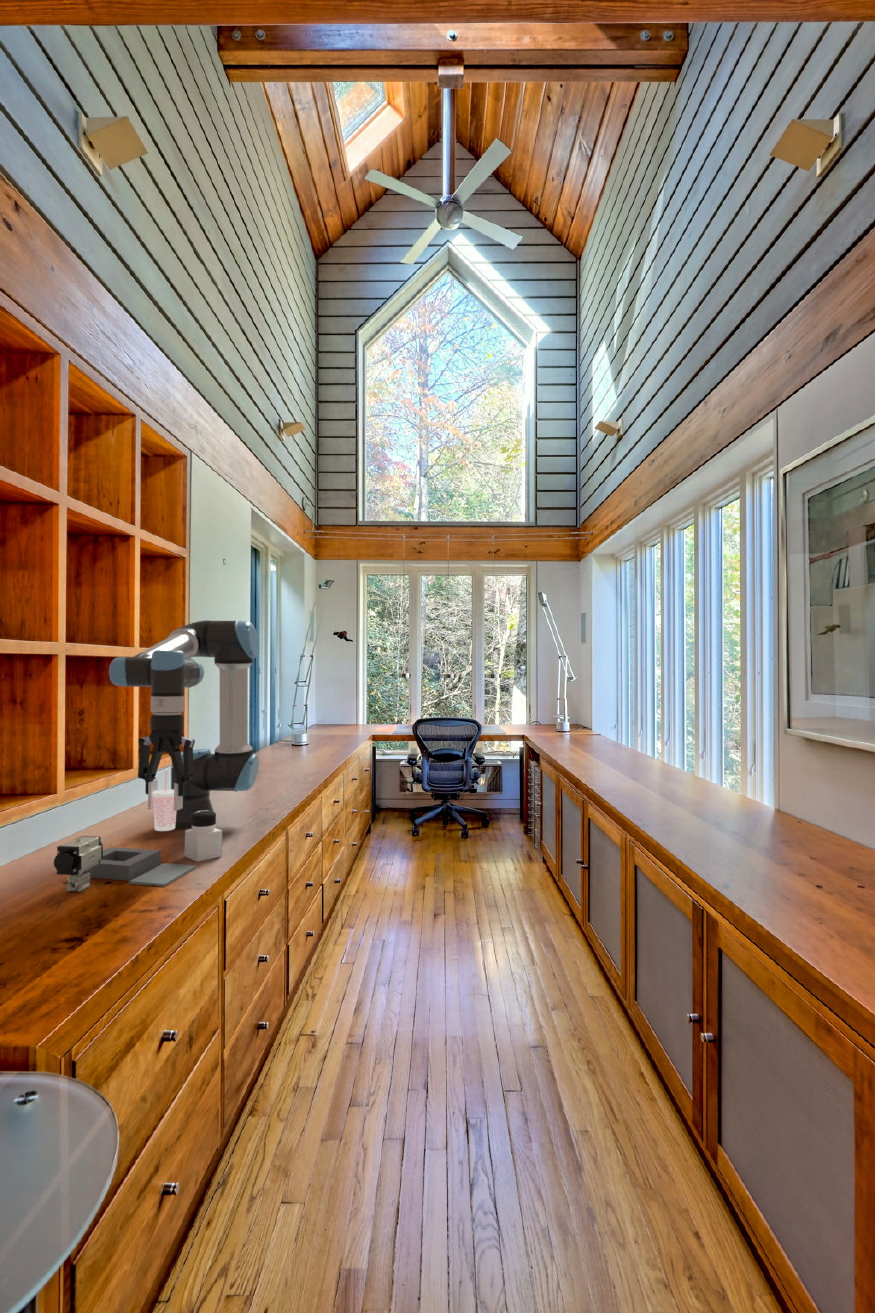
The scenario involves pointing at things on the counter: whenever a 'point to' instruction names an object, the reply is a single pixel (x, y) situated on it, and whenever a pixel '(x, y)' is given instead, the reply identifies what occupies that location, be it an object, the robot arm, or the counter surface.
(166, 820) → the beverage cup
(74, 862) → the pneumatic valve
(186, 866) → the rubber mat
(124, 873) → the socket block
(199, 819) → the medicine bottle
